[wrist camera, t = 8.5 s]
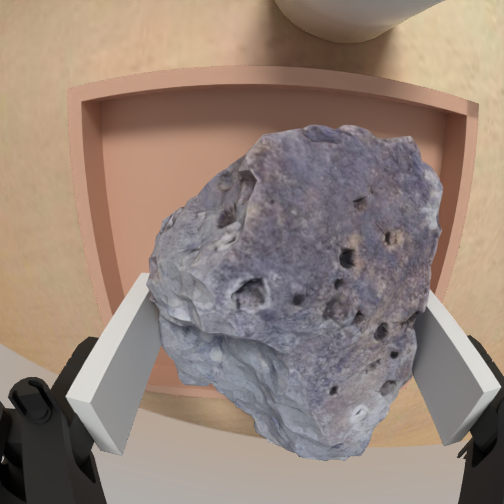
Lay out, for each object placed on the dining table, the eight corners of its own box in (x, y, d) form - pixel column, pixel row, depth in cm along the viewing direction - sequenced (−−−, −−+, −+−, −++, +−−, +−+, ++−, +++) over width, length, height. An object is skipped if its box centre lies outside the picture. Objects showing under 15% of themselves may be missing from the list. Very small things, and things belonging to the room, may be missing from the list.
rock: (348, 415, 17) (434, 504, 7) (185, 428, 16) (161, 550, 6) (348, 185, 18) (454, 115, 8) (175, 184, 17) (125, 87, 7)
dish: (137, 360, 21) (126, 388, 18) (96, 90, 14) (67, 88, 11) (394, 361, 21) (406, 388, 18) (447, 102, 13) (478, 103, 11)
